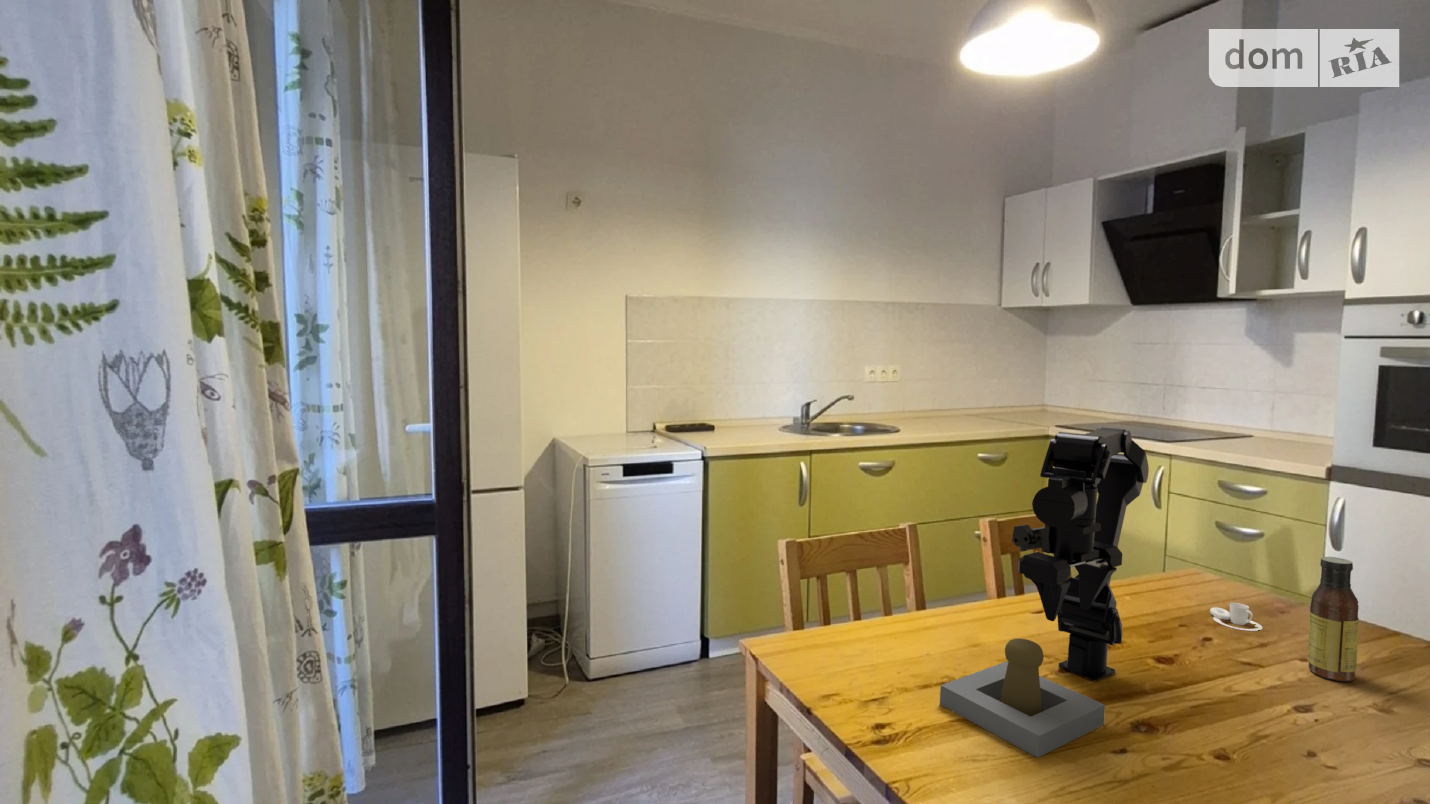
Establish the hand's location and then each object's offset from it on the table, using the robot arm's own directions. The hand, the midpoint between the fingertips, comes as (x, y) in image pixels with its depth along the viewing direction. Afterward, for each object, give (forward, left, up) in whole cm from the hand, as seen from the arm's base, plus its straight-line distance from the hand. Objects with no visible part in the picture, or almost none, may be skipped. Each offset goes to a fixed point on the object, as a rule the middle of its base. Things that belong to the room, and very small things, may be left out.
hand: (1067, 614), depth 109 cm
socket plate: (+11, 0, -13) cm, 17 cm away
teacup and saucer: (-63, 0, -14) cm, 64 cm away
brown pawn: (+11, 0, -13) cm, 17 cm away
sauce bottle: (-47, +19, -13) cm, 52 cm away
